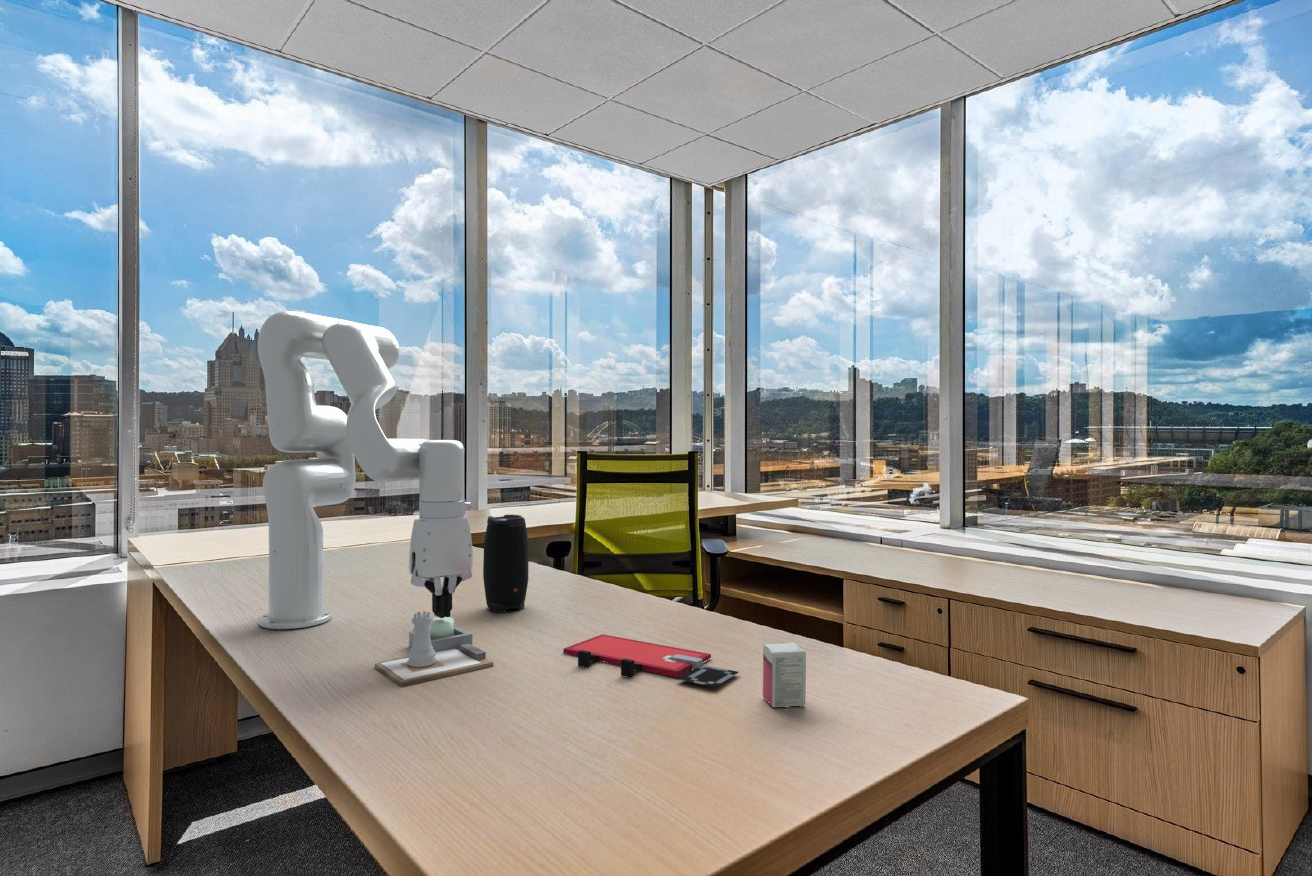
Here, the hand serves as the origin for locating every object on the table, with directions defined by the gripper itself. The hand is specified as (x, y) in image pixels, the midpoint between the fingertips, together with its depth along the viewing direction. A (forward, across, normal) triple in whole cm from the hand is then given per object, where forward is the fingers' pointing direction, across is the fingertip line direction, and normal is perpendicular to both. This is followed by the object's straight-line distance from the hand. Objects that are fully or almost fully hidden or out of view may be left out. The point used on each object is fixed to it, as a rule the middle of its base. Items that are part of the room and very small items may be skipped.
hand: (442, 615), depth 125 cm
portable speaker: (+6, -22, -17) cm, 28 cm away
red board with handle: (+7, -23, +29) cm, 37 cm away
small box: (+6, -27, +54) cm, 60 cm away
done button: (+4, 0, 0) cm, 4 cm away
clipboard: (+6, +5, +9) cm, 12 cm away
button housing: (+6, 0, 0) cm, 6 cm away
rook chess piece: (+5, +7, +8) cm, 12 cm away
